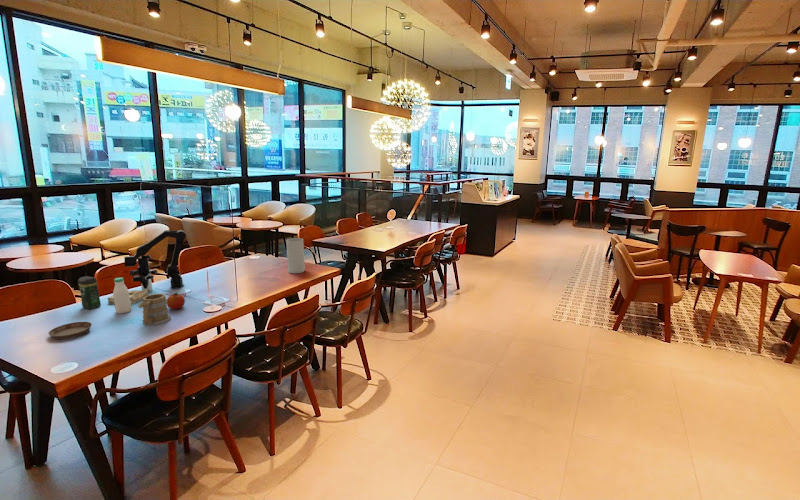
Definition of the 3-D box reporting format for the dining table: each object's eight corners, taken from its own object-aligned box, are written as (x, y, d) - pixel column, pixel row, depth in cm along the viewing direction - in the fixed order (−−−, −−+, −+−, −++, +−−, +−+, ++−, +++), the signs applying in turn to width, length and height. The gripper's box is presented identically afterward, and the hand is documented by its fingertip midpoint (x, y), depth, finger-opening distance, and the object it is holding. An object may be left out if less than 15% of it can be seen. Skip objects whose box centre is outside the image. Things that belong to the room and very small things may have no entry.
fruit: (182, 304, 260) (180, 288, 257) (188, 308, 253) (186, 292, 251) (165, 308, 253) (163, 292, 251) (170, 312, 247) (168, 295, 244)
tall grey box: (152, 289, 287) (150, 278, 285) (149, 291, 284) (148, 279, 282) (144, 290, 287) (143, 278, 285) (142, 291, 284) (140, 279, 282)
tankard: (152, 316, 241) (149, 291, 237) (174, 316, 240) (171, 291, 237) (129, 331, 221) (125, 303, 218) (153, 331, 221) (149, 303, 217)
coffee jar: (103, 306, 257) (98, 276, 253) (89, 310, 250) (83, 279, 246) (94, 303, 262) (89, 274, 257) (80, 307, 255) (74, 277, 251)
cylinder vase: (302, 273, 323) (301, 241, 318) (286, 273, 323) (284, 241, 318) (306, 269, 335) (304, 238, 330) (290, 269, 336) (288, 238, 330)
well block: (147, 295, 275) (147, 290, 275) (134, 303, 262) (134, 297, 261) (123, 295, 275) (122, 290, 275) (108, 303, 262) (107, 297, 261)
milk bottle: (134, 310, 250) (129, 277, 246) (122, 314, 243) (117, 280, 239) (125, 308, 253) (119, 275, 248) (112, 313, 246) (107, 279, 241)
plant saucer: (44, 343, 207) (42, 338, 207) (55, 330, 223) (54, 324, 222) (87, 337, 214) (86, 331, 213) (96, 324, 230) (95, 319, 229)
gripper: (139, 261, 290) (143, 283, 294) (122, 269, 272) (126, 292, 276) (156, 261, 290) (159, 283, 294) (140, 268, 272) (143, 292, 276)
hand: (147, 287), depth 285 cm, fingers closed on tall grey box, 3 cm apart
